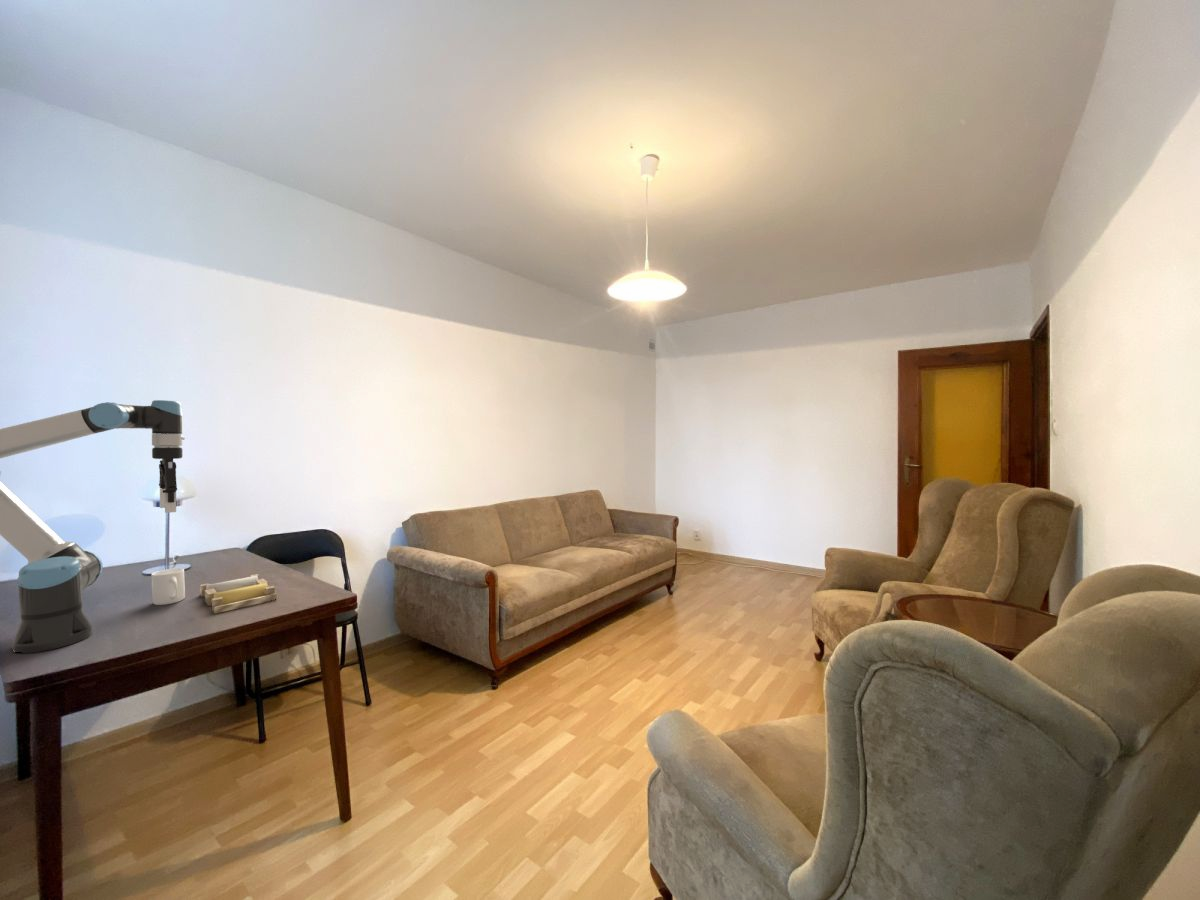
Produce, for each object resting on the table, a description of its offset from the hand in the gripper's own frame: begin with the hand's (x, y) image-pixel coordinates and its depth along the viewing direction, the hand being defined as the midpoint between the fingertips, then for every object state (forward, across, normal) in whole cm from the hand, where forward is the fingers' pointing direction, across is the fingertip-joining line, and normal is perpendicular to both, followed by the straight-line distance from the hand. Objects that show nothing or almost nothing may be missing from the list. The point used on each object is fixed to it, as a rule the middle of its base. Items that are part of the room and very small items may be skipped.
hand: (167, 510), depth 159 cm
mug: (+35, +10, -2) cm, 36 cm away
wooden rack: (+34, -1, -19) cm, 39 cm away
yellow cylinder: (+34, -8, -19) cm, 40 cm away
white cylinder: (+34, +6, -19) cm, 39 cm away
